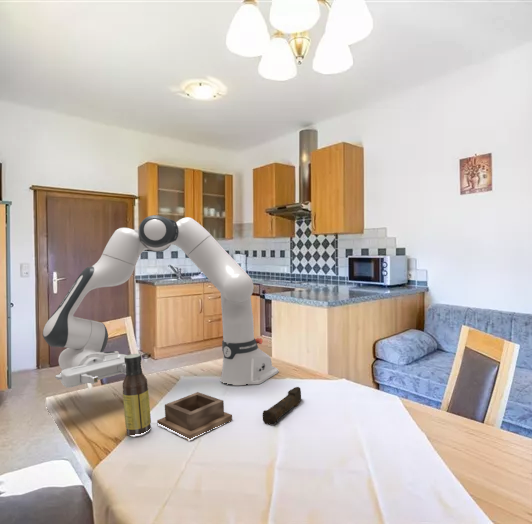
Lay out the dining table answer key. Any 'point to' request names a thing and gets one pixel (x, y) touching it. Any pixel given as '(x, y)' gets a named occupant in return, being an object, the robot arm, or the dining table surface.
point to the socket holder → (194, 415)
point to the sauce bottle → (136, 397)
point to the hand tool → (282, 406)
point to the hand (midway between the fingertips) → (112, 375)
